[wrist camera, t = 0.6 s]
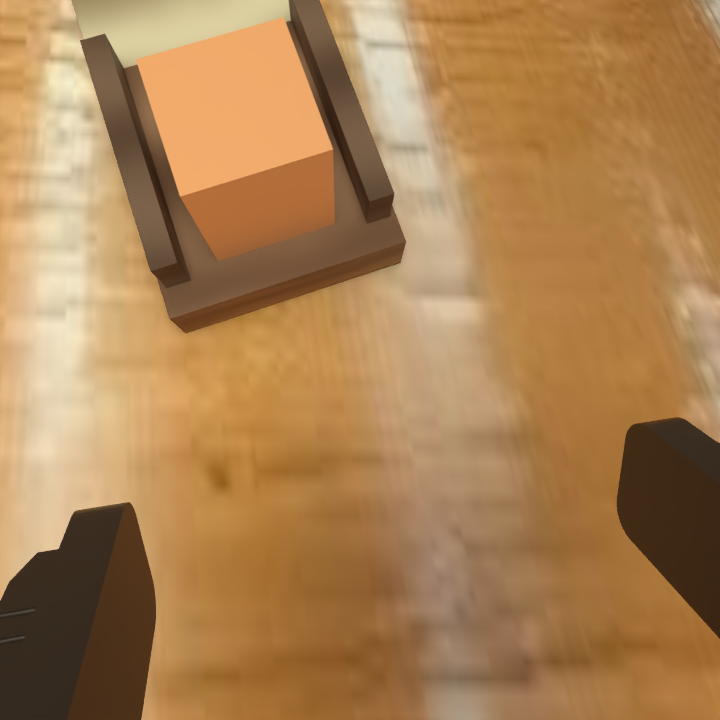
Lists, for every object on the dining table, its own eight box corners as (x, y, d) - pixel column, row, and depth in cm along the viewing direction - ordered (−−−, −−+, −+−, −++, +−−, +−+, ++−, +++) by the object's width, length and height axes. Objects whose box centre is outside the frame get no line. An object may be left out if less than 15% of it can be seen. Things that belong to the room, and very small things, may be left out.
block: (335, 223, 30) (333, 149, 23) (218, 261, 29) (180, 196, 22) (296, 118, 31) (283, 17, 24) (182, 153, 30) (135, 59, 23)
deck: (400, 262, 33) (412, 220, 27) (185, 333, 32) (153, 304, 26) (224, -198, 38) (205, -310, 32) (35, -151, 37) (-18, -258, 31)
